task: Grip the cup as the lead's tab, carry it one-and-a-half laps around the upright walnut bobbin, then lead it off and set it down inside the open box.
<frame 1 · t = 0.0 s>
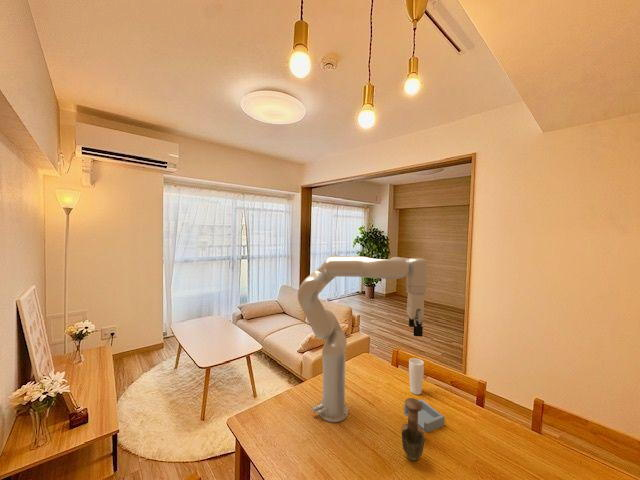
hand: (415, 331, 103), 37 cm above the table, tool pointing down, fingers open, 9 cm apart
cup: (412, 458, 88), on the table
open box: (423, 419, 106), on the table
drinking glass: (415, 392, 124), on the table
bobbin: (412, 433, 98), on the table
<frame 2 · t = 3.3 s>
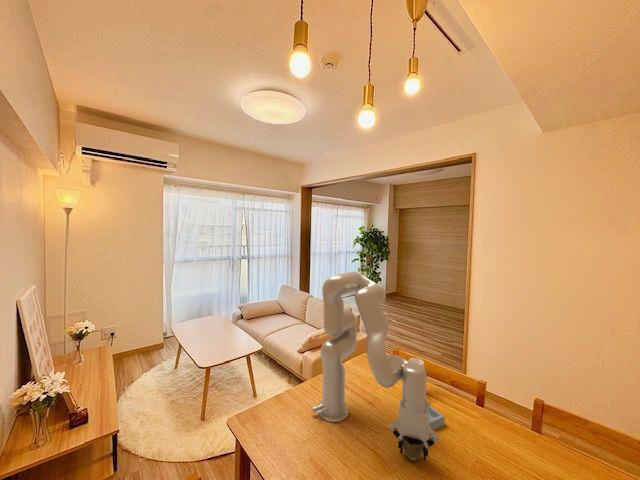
hand: (412, 453, 88), 2 cm above the table, tool pointing down, fingers closed on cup, 6 cm apart
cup: (412, 458, 88), on the table, touching gripper
everything else where it was.
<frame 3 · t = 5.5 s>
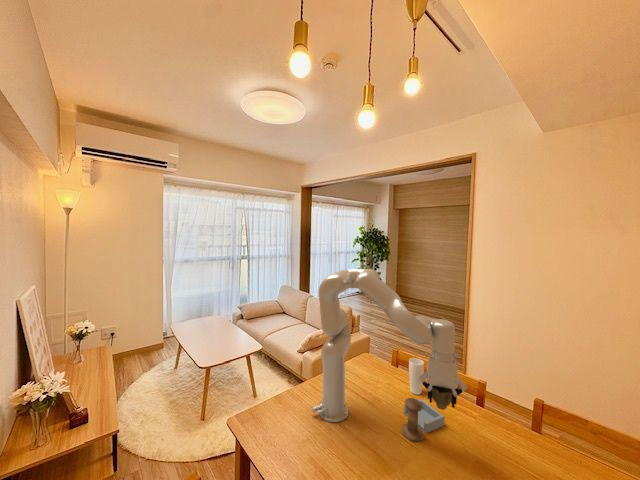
hand: (441, 402, 94), 15 cm above the table, tool pointing down, fingers closed on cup, 6 cm apart
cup: (441, 407, 94), point 13 cm above the table, touching gripper
everything else where it was.
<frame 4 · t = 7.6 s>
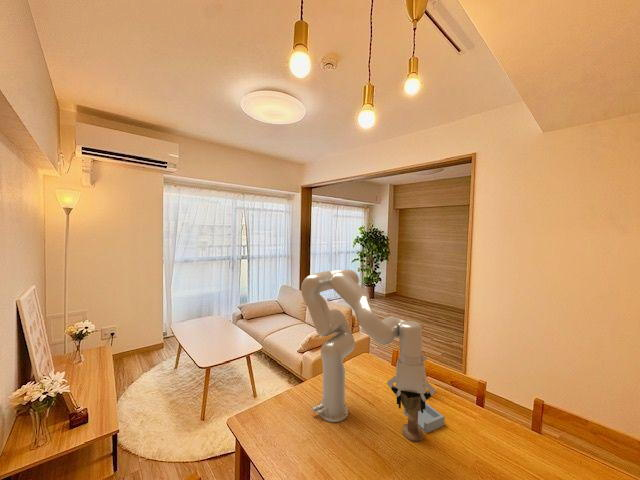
hand: (410, 407, 90), 15 cm above the table, tool pointing down, fingers closed on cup, 6 cm apart
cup: (410, 413, 90), point 13 cm above the table, touching gripper
everything else where it was.
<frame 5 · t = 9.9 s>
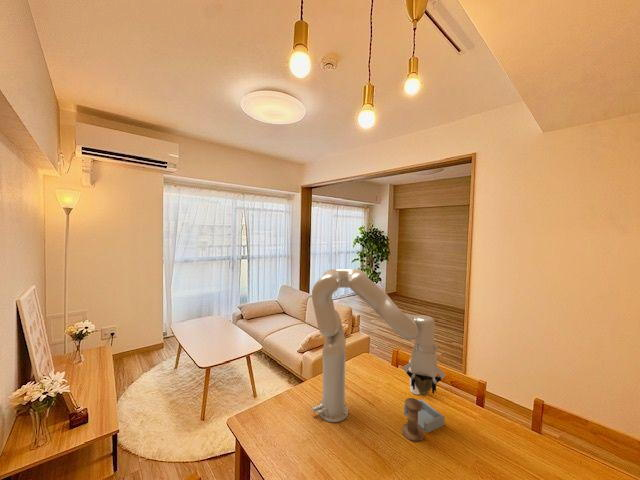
hand: (423, 389, 105), 13 cm above the table, tool pointing down, fingers closed on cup, 6 cm apart
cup: (423, 393, 106), point 11 cm above the table, touching gripper
everything else where it was.
when the fingers open (4 cm above the table, at t = 11.9 s): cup drops 1 cm, resting on open box.
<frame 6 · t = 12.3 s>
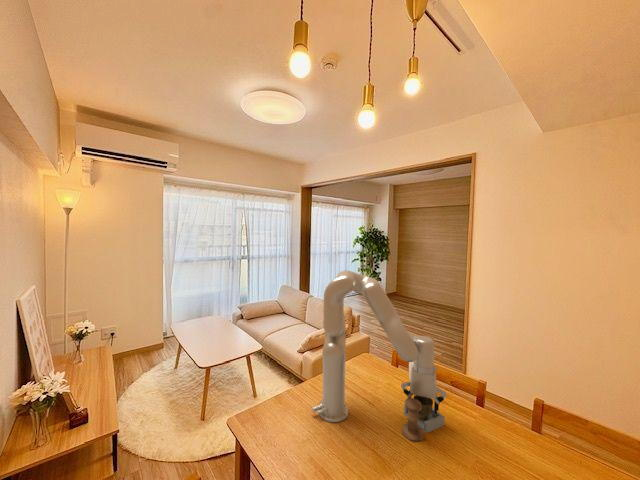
hand: (422, 408, 106), 5 cm above the table, tool pointing down, fingers open, 9 cm apart
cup: (422, 418, 106), point 1 cm above the table, touching open box
everything else where it was.
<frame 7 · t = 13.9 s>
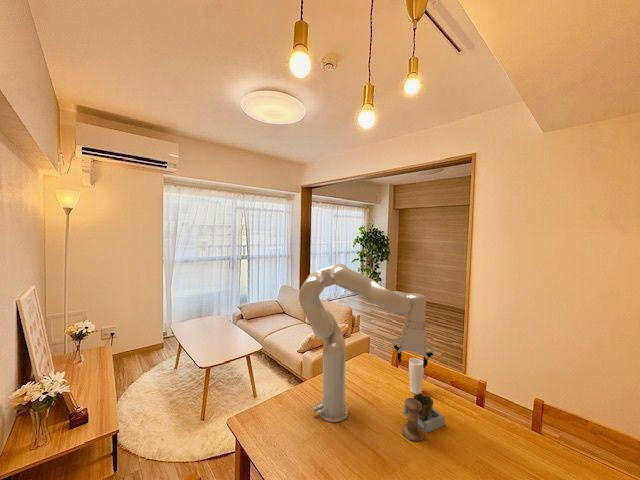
hand: (411, 364, 107), 22 cm above the table, tool pointing down, fingers open, 9 cm apart
nothing on the table moved.
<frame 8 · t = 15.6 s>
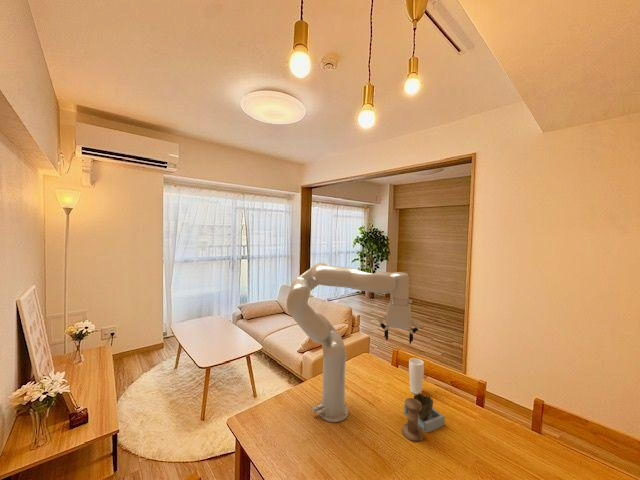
hand: (398, 340, 111), 30 cm above the table, tool pointing down, fingers open, 9 cm apart
nothing on the table moved.
at the end: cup inside the target area on the open box (0.1 cm from its centre), point 0.6 cm above the open box's base; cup tilted 0°; the gripper is holding nothing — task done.
